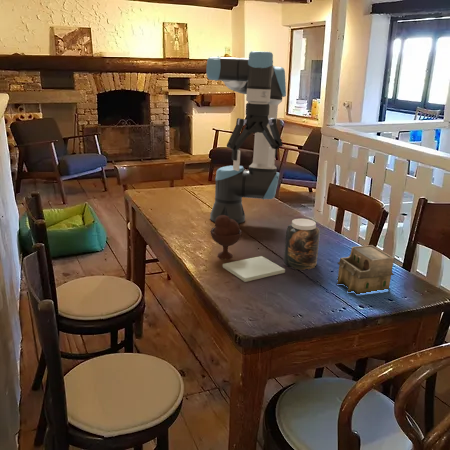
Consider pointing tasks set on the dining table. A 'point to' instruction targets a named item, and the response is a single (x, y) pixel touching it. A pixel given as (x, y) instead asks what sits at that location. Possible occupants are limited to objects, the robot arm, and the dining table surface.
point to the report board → (253, 268)
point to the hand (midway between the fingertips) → (253, 169)
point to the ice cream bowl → (225, 234)
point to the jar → (301, 244)
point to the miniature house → (365, 269)
